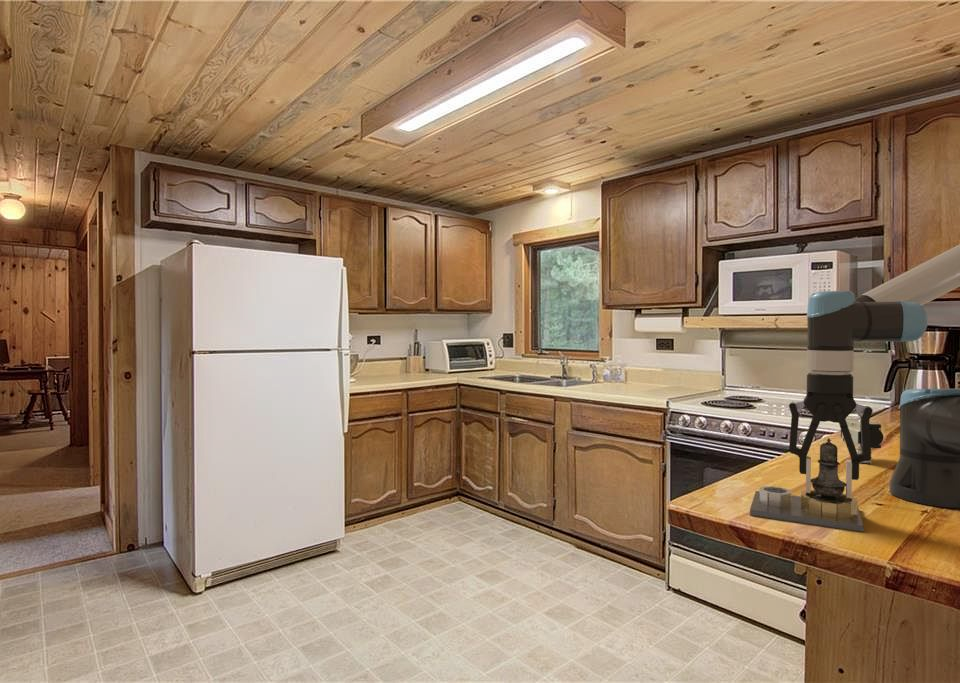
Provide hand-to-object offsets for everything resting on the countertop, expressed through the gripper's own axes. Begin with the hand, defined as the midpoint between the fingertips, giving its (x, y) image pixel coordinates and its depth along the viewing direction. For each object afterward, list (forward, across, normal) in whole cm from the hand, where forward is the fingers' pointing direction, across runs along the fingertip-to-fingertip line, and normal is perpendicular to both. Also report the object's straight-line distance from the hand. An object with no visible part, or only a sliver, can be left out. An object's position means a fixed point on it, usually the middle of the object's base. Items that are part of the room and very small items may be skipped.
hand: (828, 493), depth 107 cm
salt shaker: (+2, 0, 0) cm, 2 cm away
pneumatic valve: (+4, -9, -54) cm, 55 cm away
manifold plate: (+4, +4, 0) cm, 6 cm away
